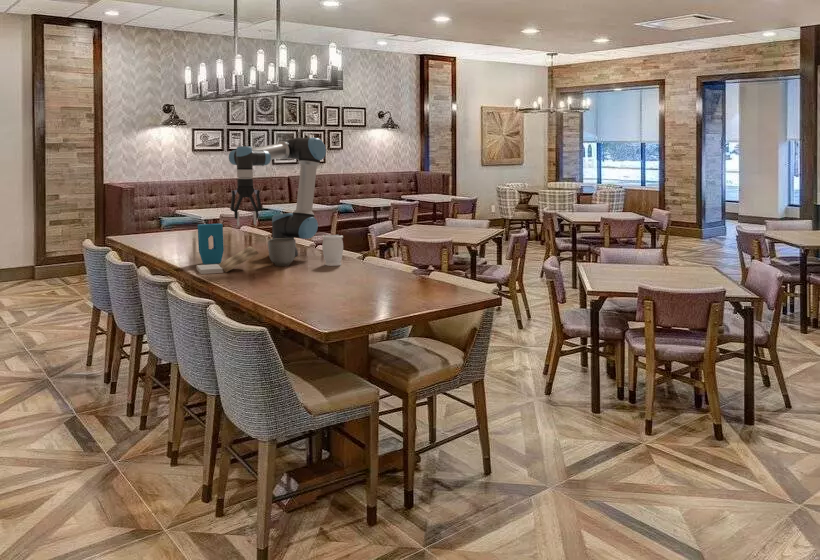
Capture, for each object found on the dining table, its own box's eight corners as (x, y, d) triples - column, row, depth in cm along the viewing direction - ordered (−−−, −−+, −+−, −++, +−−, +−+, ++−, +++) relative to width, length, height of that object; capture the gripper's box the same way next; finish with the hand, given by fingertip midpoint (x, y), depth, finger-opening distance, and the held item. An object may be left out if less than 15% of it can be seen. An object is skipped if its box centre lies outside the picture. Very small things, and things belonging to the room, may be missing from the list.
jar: (346, 264, 393) (346, 235, 390) (338, 267, 383) (337, 237, 381) (327, 262, 396) (327, 234, 394) (319, 265, 387) (318, 236, 384)
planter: (273, 268, 379) (272, 242, 377) (265, 264, 391) (264, 239, 389) (300, 266, 386) (299, 240, 383) (291, 262, 398) (290, 237, 395)
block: (201, 264, 389) (199, 225, 386) (198, 263, 394) (197, 224, 390) (224, 263, 395) (223, 224, 391) (222, 261, 399) (220, 223, 396)
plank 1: (252, 249, 384) (249, 245, 383) (254, 251, 378) (252, 247, 377) (220, 267, 379) (218, 264, 378) (222, 269, 373) (220, 266, 372)
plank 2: (255, 251, 376) (253, 247, 375) (258, 253, 370) (256, 249, 369) (223, 270, 371) (221, 266, 370) (225, 272, 365) (223, 268, 365)
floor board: (218, 268, 379) (218, 263, 378) (224, 272, 365) (223, 268, 365) (196, 269, 374) (196, 265, 374) (201, 274, 361) (201, 269, 360)
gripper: (264, 177, 381) (265, 223, 385) (222, 178, 373) (224, 225, 377) (267, 178, 374) (268, 224, 378) (225, 178, 366) (227, 226, 370)
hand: (246, 224), depth 377 cm, fingers open, 8 cm apart
